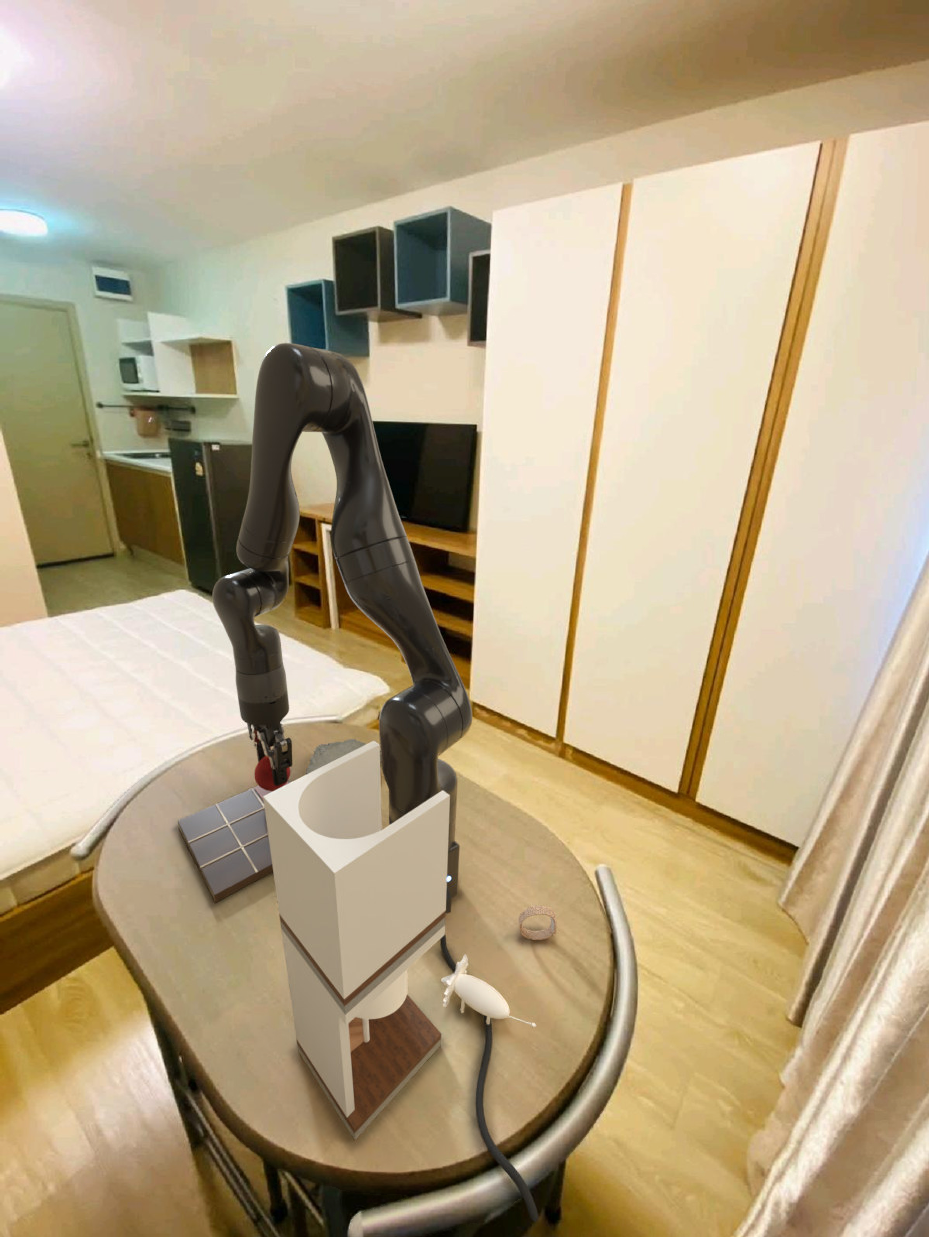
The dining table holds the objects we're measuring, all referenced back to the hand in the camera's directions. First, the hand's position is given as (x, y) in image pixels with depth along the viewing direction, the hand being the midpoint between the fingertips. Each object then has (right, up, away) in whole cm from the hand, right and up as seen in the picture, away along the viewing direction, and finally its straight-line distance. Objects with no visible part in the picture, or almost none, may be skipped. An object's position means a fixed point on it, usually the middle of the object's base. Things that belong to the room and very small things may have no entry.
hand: (272, 773), depth 90 cm
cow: (+36, -20, -30) cm, 50 cm away
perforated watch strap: (+43, -16, -20) cm, 50 cm away
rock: (+11, -3, +9) cm, 14 cm away
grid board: (-1, -8, -6) cm, 10 cm away
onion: (0, -4, +1) cm, 4 cm away
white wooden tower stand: (+23, -21, -33) cm, 45 cm away
